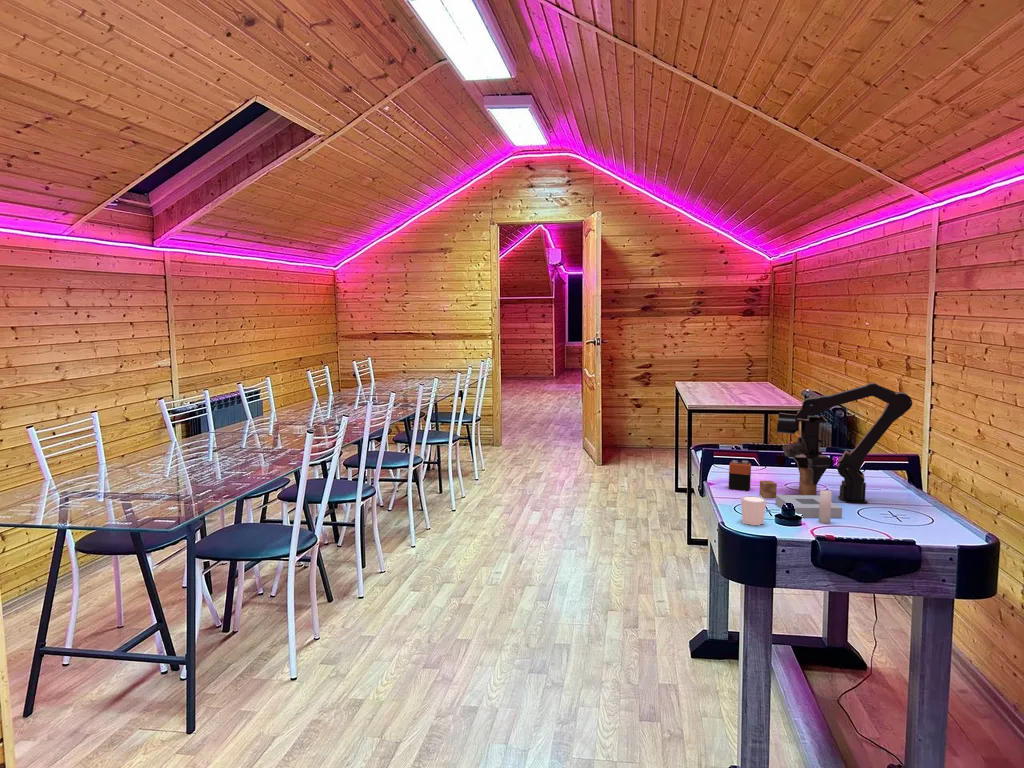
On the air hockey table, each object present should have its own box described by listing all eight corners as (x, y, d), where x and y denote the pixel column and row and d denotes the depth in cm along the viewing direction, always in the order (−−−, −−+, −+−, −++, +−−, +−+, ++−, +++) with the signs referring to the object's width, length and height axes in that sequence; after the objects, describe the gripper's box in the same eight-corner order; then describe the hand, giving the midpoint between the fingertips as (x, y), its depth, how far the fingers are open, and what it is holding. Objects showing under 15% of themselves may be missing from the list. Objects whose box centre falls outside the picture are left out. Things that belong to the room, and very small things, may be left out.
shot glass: (753, 527, 180) (754, 503, 179) (735, 521, 186) (735, 497, 185) (770, 524, 183) (771, 500, 182) (751, 517, 189) (752, 494, 188)
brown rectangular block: (810, 493, 216) (812, 467, 215) (816, 497, 212) (817, 470, 211) (798, 493, 216) (800, 467, 215) (804, 497, 212) (805, 470, 211)
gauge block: (819, 504, 203) (821, 476, 202) (851, 523, 183) (852, 493, 182) (775, 504, 203) (776, 476, 202) (802, 523, 183) (803, 492, 183)
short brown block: (771, 495, 214) (772, 480, 213) (776, 498, 210) (776, 483, 209) (759, 495, 214) (760, 480, 213) (763, 498, 210) (764, 483, 209)
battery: (749, 491, 218) (750, 462, 217) (728, 489, 221) (729, 460, 220) (750, 488, 222) (751, 460, 221) (729, 486, 225) (730, 458, 224)
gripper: (775, 430, 221) (773, 474, 222) (798, 440, 202) (796, 488, 204) (807, 430, 221) (805, 474, 222) (833, 440, 202) (831, 488, 204)
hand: (808, 481), depth 213 cm, fingers open, 9 cm apart
